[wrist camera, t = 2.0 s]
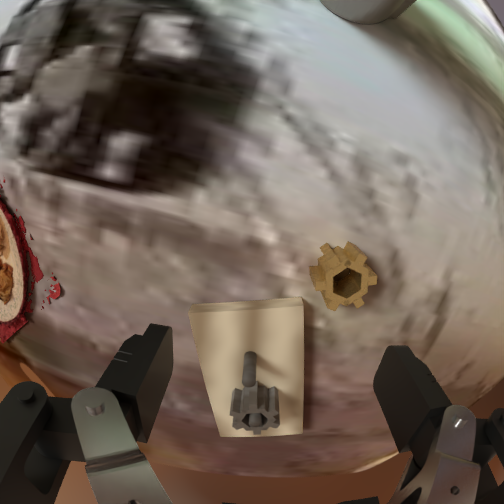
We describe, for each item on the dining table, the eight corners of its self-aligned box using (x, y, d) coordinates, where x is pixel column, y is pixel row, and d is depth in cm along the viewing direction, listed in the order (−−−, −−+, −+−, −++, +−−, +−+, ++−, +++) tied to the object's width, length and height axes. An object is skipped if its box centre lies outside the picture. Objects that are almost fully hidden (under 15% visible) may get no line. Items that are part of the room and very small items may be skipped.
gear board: (301, 296, 31) (309, 329, 25) (301, 423, 38) (305, 457, 32) (192, 304, 32) (177, 336, 26) (221, 427, 39) (217, 460, 33)
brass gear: (364, 239, 29) (378, 251, 25) (363, 289, 31) (374, 306, 27) (308, 244, 29) (315, 257, 26) (310, 294, 31) (315, 313, 27)
